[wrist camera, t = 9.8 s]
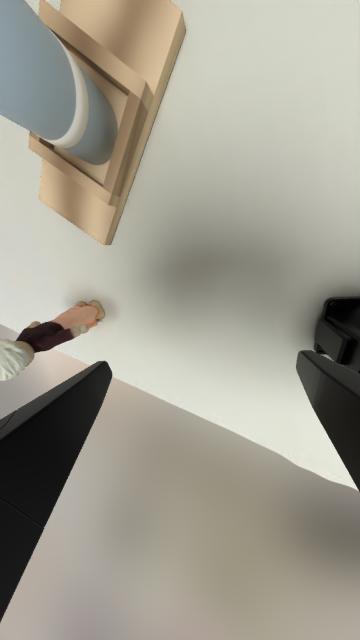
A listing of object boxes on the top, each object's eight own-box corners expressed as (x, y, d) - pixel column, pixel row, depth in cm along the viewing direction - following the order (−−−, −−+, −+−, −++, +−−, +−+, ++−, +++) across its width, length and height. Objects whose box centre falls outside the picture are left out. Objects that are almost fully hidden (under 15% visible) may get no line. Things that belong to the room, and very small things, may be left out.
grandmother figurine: (80, 326, 26) (-26, 393, 15) (67, 303, 24) (-62, 358, 13) (121, 317, 23) (31, 390, 12) (109, 291, 22) (-4, 347, 11)
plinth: (185, 30, 12) (177, -19, 9) (110, 244, 19) (95, 245, 17) (85, -54, 11) (49, -130, 9) (48, 201, 19) (24, 197, 16)
